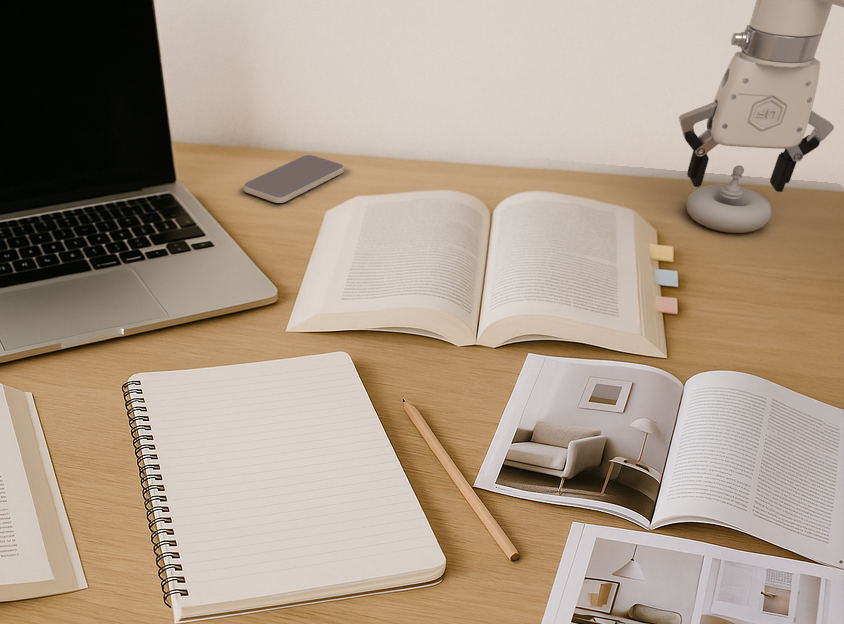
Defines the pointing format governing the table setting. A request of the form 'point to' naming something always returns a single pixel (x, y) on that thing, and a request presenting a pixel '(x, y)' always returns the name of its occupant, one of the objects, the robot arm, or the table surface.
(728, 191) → the pawn
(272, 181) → the smartphone
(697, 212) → the donut
